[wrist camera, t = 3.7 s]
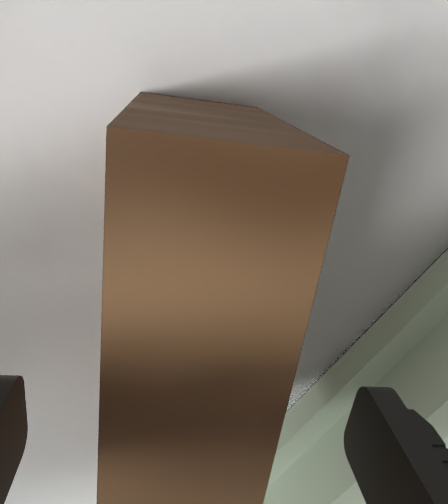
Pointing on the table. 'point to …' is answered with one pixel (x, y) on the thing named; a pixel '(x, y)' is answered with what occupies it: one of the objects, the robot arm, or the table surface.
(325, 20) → the table surface
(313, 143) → the wooden picture frame
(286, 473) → the pale green channel holder
